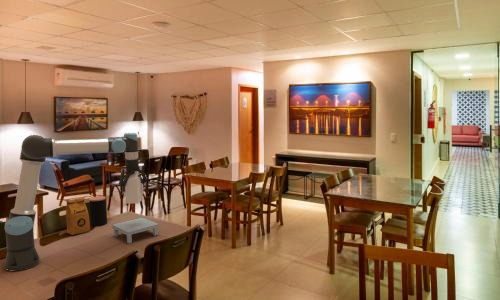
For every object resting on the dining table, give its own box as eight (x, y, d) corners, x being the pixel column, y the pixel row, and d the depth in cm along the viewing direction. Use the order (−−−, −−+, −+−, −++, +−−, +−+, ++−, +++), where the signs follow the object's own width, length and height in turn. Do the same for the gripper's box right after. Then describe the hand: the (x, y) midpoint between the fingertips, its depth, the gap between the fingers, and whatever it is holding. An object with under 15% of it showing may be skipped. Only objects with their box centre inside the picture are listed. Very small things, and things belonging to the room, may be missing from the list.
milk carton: (138, 203, 217) (136, 172, 215) (126, 203, 217) (124, 172, 215) (141, 200, 224) (140, 170, 222) (130, 200, 224) (128, 170, 222)
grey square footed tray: (128, 243, 209) (127, 232, 208) (112, 235, 223) (112, 224, 222) (159, 235, 223) (158, 224, 222) (142, 228, 237) (142, 217, 236)
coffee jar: (110, 221, 251) (108, 196, 249) (102, 226, 241) (100, 200, 239) (95, 221, 252) (93, 196, 250) (87, 226, 242) (85, 199, 240)
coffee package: (92, 231, 231) (89, 197, 228) (71, 237, 222) (68, 201, 219) (85, 228, 238) (83, 195, 235) (65, 233, 229) (63, 199, 226)
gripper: (116, 161, 207) (118, 199, 209) (152, 157, 223) (153, 193, 225) (110, 160, 212) (113, 197, 215) (145, 156, 228) (147, 191, 230)
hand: (133, 195), depth 220 cm, fingers closed on milk carton, 10 cm apart
